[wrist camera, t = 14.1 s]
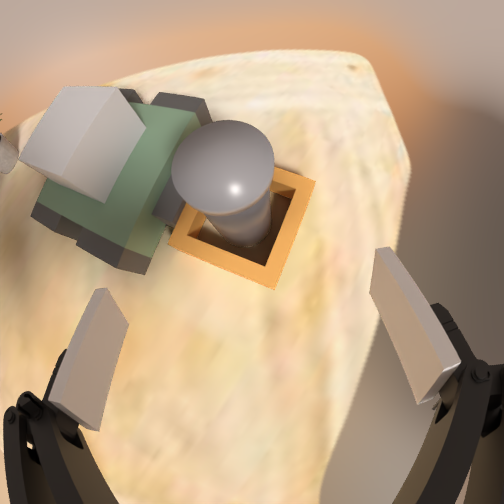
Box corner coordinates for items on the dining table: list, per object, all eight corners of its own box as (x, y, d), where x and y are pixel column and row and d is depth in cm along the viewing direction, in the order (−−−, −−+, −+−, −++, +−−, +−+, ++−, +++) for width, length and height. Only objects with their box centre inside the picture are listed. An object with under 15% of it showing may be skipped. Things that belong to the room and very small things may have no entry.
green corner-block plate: (59, 227, 31) (-10, 199, 18) (121, 111, 34) (78, 55, 21) (259, 327, 27) (244, 349, 14) (323, 162, 29) (346, 84, 17)
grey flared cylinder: (204, 238, 29) (154, 192, 16) (229, 184, 30) (199, 112, 17) (261, 260, 28) (249, 226, 15) (284, 204, 29) (288, 135, 16)
